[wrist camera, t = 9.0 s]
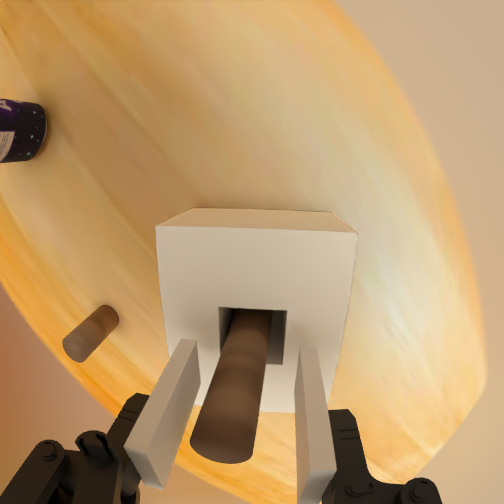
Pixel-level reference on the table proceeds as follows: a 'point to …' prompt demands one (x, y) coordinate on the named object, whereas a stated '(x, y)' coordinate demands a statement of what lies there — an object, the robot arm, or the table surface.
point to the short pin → (90, 333)
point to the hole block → (257, 287)
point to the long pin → (235, 391)
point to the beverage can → (21, 130)
